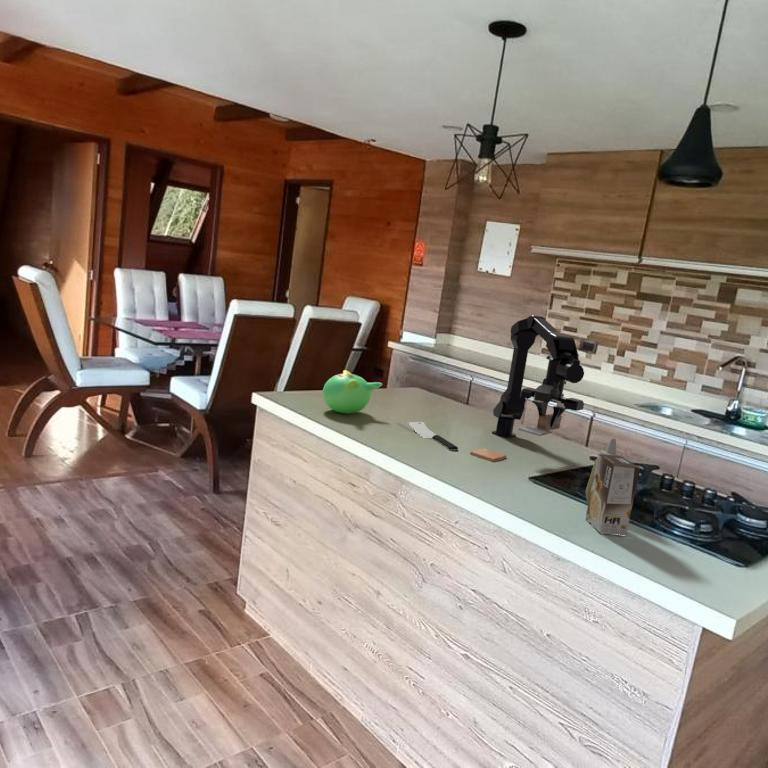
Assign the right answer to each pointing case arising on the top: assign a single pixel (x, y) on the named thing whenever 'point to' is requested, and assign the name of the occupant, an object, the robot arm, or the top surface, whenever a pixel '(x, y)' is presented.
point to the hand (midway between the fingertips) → (546, 425)
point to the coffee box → (612, 494)
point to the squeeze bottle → (609, 451)
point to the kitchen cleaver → (431, 435)
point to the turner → (542, 426)
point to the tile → (488, 454)
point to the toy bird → (348, 392)
